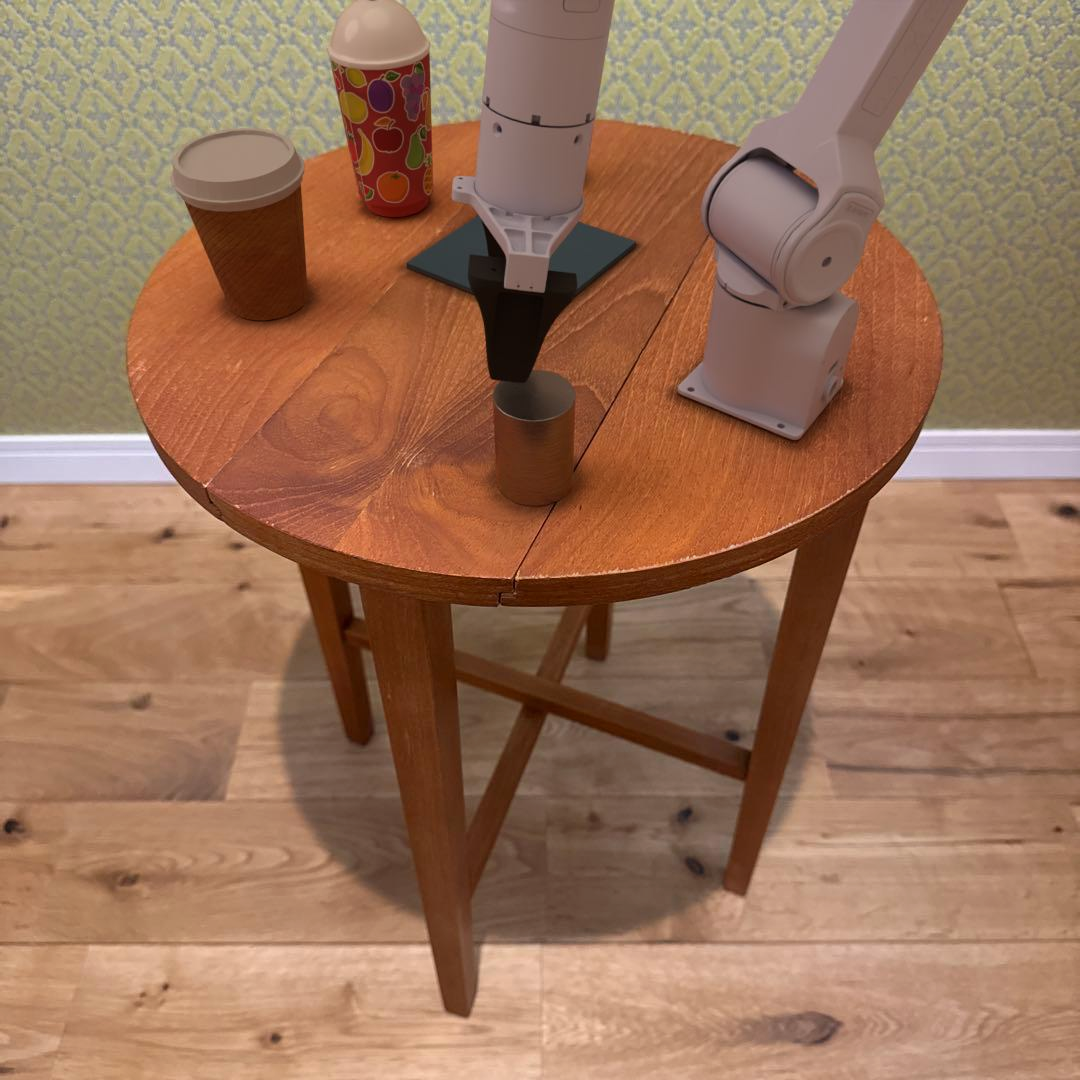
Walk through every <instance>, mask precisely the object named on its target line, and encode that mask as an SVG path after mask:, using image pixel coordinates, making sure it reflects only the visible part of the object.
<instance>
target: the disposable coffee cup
mask: <svg viewBox="0 0 1080 1080" xmlns="http://www.w3.org/2000/svg"><path fill="white" fill-rule="evenodd" d="M305 165H306V164H305V161H304V159H303V157H302V156H301V155H300V154H299V153H298V151H297V149H296V146H295V145H294V142H293V141H292V140H291V138H289V137H288V136H286V135H284V134H282V133H280V132H277V131H273V130H269V129H264V128H256V127H239V128H229V129H222V130H216V131H213V132H209V133H207V134H202V135H200V136H198V137H196V138H193V139H191V140H188V142H186V143H185V144H183V145H181V146H180V147H179V148H178V149H177V150H176V152H175V153H174V154H173V159H172V172H171V175H170V183H171V187H172V188H173V190H175V192H176V193H177V194H178V196H179V197H180V198H181V200H182V201H183V202H184V204H185V206H186V207H185V208H186V209H187V211H188V214H189V216H190V218H191V221H192V223H193V225H194V228H195V230H196V233H197V235H198V237H199V240H200V241H201V244H202V246H203V249H204V251H205V254H206V255H207V259H208V260H209V263H210V265H211V267H212V270H213V272H214V274H215V277H216V279H217V281H218V284H219V286H220V288H221V290H222V293H223V295H224V297H225V301H226V302H227V305H228V307H229V309H230V311H232V313H233V314H235V315H236V316H239V317H240V318H243V319H247V320H252V321H271V320H276V319H280V318H284V317H287V316H289V315H291V314H294V313H295V312H297V311H298V310H300V309H301V308H302V307H303V306H304V304H306V302H307V300H308V298H309V291H308V290H309V289H308V275H307V274H308V273H307V258H306V257H307V256H306V241H305V225H304V210H303V194H302V182H303V180H304V179H303V178H304V177H303V175H304V174H305V168H306V166H305Z"/></svg>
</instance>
